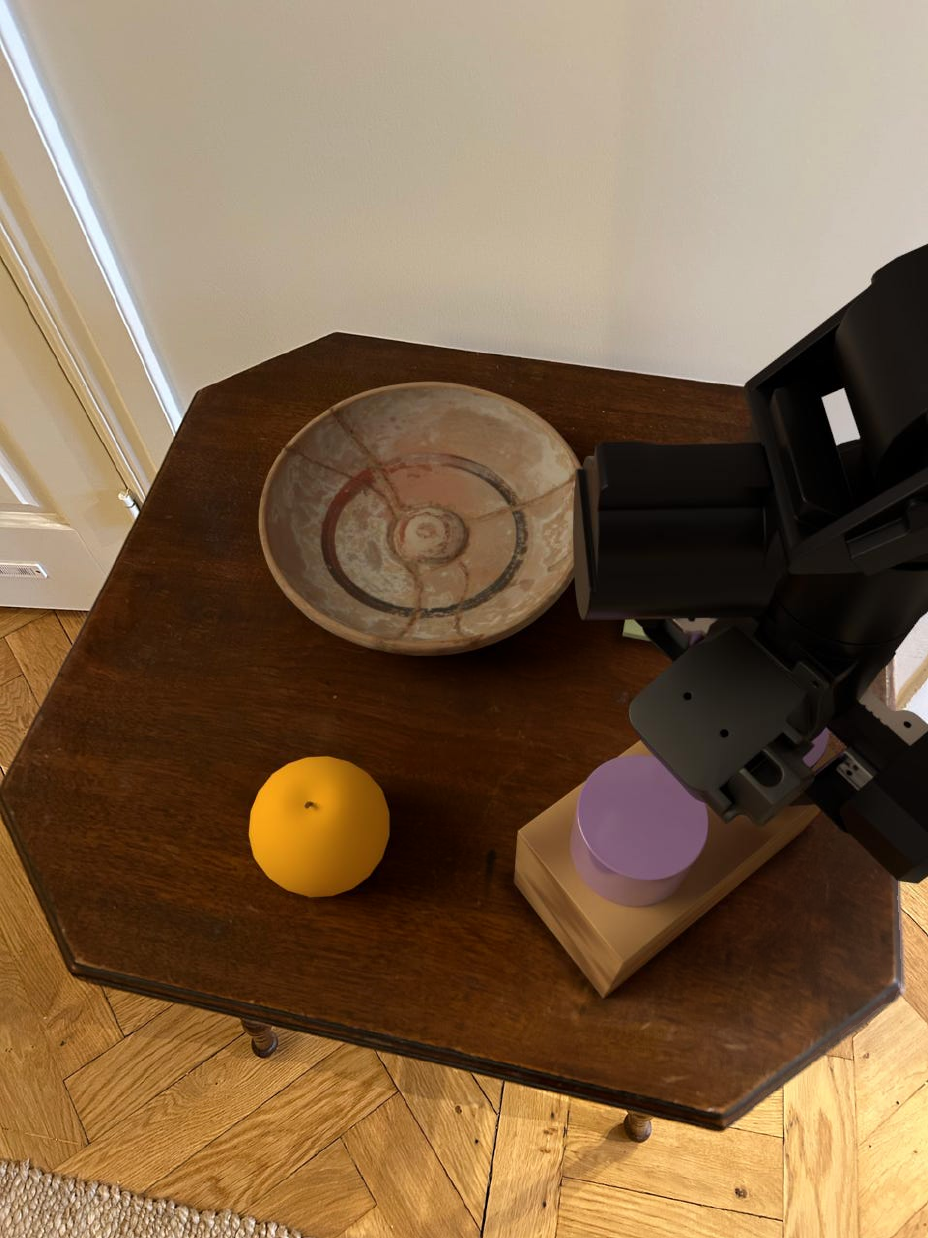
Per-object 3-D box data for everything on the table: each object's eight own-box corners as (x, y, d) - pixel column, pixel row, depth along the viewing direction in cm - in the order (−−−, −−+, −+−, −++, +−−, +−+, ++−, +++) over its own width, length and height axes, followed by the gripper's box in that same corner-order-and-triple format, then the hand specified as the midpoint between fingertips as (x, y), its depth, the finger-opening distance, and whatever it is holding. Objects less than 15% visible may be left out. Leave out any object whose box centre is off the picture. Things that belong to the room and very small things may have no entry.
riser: (804, 829, 55) (854, 770, 47) (603, 999, 50) (623, 964, 42) (709, 733, 58) (742, 664, 51) (513, 882, 53) (517, 831, 46)
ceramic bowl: (236, 667, 62) (218, 628, 57) (308, 417, 74) (297, 370, 70) (578, 698, 60) (585, 660, 56) (592, 436, 72) (599, 389, 68)
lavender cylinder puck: (716, 858, 45) (737, 827, 41) (625, 933, 43) (638, 907, 39) (634, 767, 47) (646, 730, 44) (545, 834, 46) (550, 802, 42)
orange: (404, 789, 57) (393, 739, 50) (383, 918, 52) (369, 880, 46) (278, 777, 57) (252, 725, 51) (249, 902, 53) (216, 863, 47)
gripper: (522, 527, 36) (513, 707, 49) (907, 915, 27) (771, 1005, 41) (725, 403, 39) (666, 603, 52) (1122, 714, 31) (932, 858, 44)
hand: (746, 752), depth 47 cm, fingers closed on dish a, 6 cm apart
